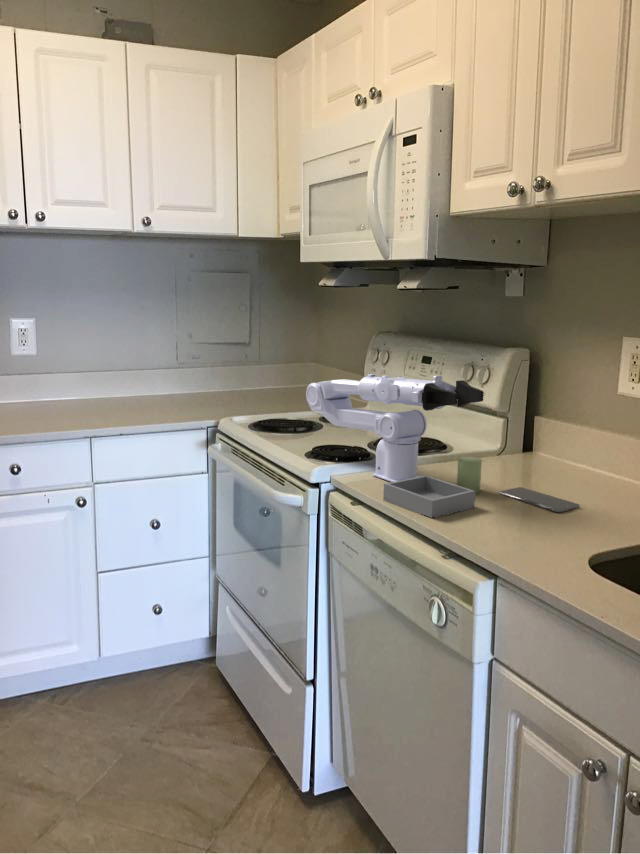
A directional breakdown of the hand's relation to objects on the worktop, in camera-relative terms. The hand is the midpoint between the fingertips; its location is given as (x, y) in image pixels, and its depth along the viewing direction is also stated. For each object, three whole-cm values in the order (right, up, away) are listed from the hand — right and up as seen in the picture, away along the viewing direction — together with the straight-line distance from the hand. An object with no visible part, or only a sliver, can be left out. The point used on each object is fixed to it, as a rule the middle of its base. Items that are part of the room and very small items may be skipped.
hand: (469, 397), depth 148 cm
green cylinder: (+2, -20, +11) cm, 23 cm away
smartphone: (+15, -22, +5) cm, 27 cm away
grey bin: (-8, -22, +1) cm, 23 cm away
